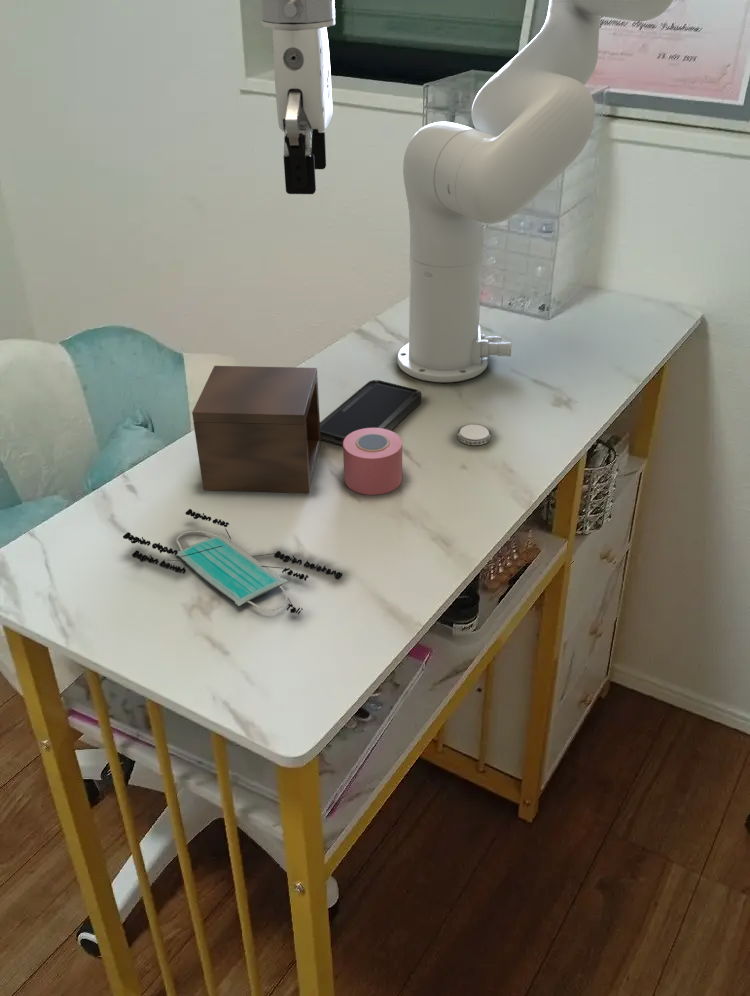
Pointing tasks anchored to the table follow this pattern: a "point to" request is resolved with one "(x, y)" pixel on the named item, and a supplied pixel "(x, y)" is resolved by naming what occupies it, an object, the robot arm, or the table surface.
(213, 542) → the surgical mask
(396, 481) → the tape roll
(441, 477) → the table surface
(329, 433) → the phone
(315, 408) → the desk shelf
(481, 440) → the white bottle cap
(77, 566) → the table surface
